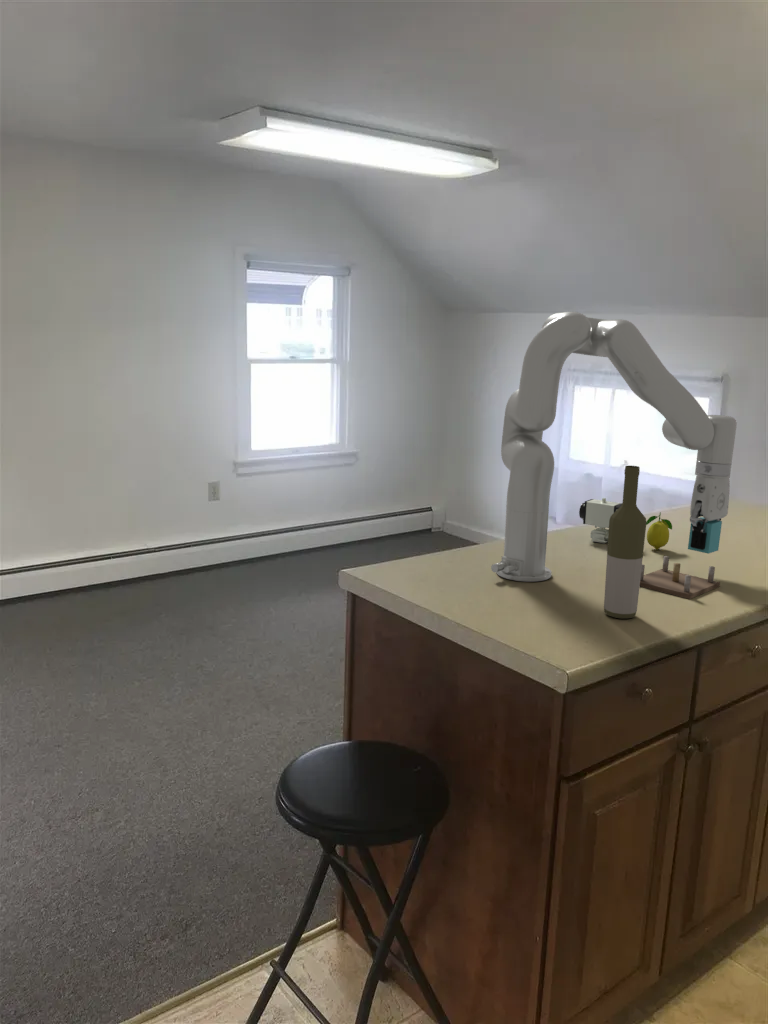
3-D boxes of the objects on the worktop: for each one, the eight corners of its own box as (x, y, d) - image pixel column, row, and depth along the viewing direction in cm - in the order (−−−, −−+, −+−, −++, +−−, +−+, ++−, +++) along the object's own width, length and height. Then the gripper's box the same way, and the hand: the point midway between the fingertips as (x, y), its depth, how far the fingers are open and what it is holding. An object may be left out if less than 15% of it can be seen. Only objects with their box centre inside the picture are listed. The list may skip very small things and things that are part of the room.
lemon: (642, 550, 218) (645, 513, 216) (643, 545, 223) (647, 509, 221) (669, 553, 216) (673, 515, 213) (670, 548, 221) (673, 511, 219)
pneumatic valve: (618, 547, 221) (621, 502, 218) (576, 539, 228) (579, 496, 225) (626, 543, 225) (629, 499, 223) (585, 536, 232) (588, 493, 230)
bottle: (643, 614, 168) (657, 466, 162) (629, 623, 163) (643, 470, 156) (610, 607, 172) (622, 462, 166) (595, 615, 167) (607, 466, 161)
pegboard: (689, 599, 179) (691, 576, 178) (630, 583, 189) (632, 562, 188) (719, 586, 188) (721, 565, 187) (662, 572, 198) (664, 552, 197)
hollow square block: (708, 553, 192) (712, 523, 191) (687, 549, 196) (691, 519, 194) (718, 550, 196) (722, 521, 194) (697, 545, 199) (701, 517, 198)
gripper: (711, 475, 183) (701, 555, 187) (745, 468, 195) (735, 544, 199) (679, 470, 189) (670, 548, 193) (714, 464, 200) (705, 538, 204)
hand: (703, 545), depth 196 cm, fingers closed on hollow square block, 5 cm apart
